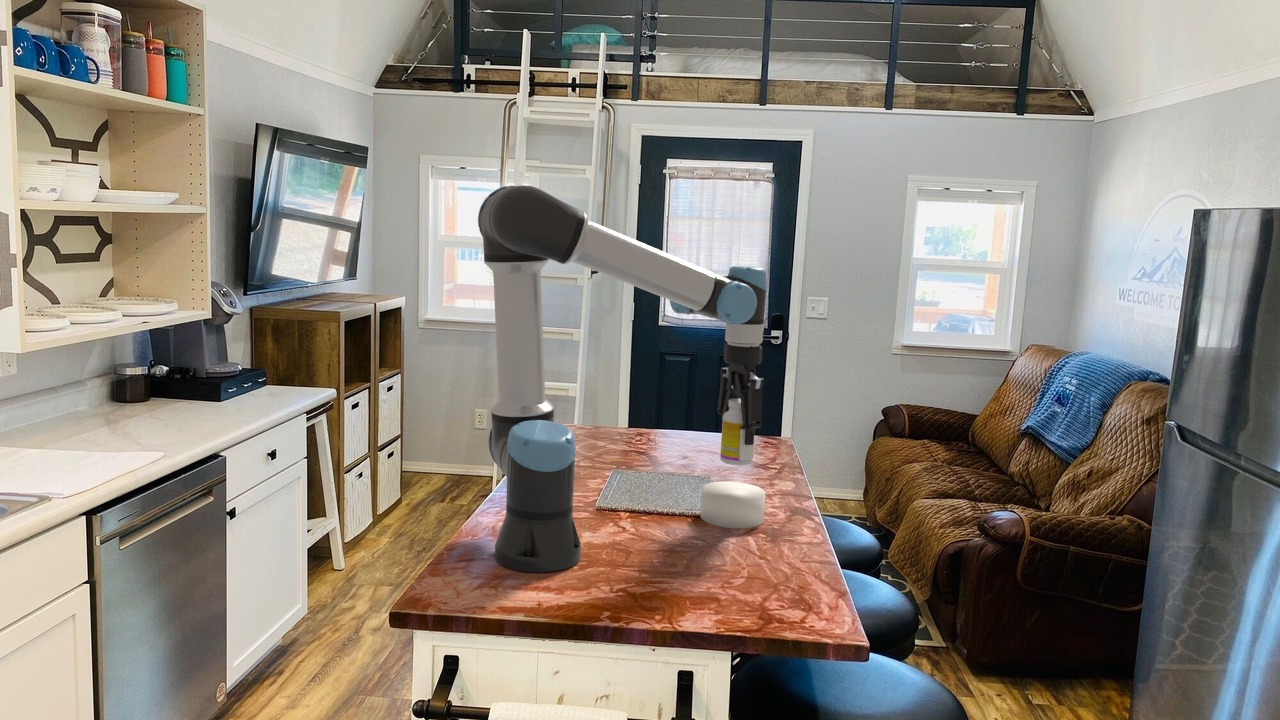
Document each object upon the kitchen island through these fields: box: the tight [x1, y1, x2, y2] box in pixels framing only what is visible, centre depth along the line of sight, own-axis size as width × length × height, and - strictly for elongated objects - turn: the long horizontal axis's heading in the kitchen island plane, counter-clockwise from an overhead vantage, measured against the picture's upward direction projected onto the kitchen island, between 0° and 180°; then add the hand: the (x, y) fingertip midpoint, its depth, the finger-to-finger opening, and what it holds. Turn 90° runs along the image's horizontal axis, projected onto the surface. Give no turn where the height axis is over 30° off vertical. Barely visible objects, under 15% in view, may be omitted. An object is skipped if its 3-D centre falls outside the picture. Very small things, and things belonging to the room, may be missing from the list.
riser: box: [699, 480, 766, 529], centre depth 189 cm, size 13×13×6 cm
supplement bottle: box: [719, 397, 756, 467], centre depth 187 cm, size 7×7×13 cm
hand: (736, 454), depth 187 cm, fingers closed on supplement bottle, 7 cm apart
